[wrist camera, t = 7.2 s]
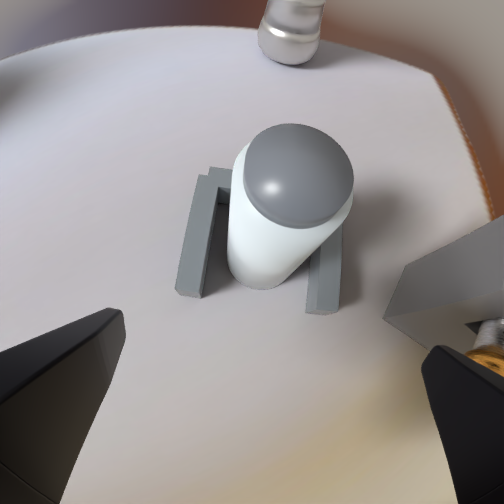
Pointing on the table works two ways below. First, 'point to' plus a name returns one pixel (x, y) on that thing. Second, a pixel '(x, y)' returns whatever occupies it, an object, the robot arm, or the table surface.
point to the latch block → (452, 290)
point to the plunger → (490, 345)
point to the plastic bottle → (291, 30)
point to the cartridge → (285, 202)
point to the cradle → (200, 234)
